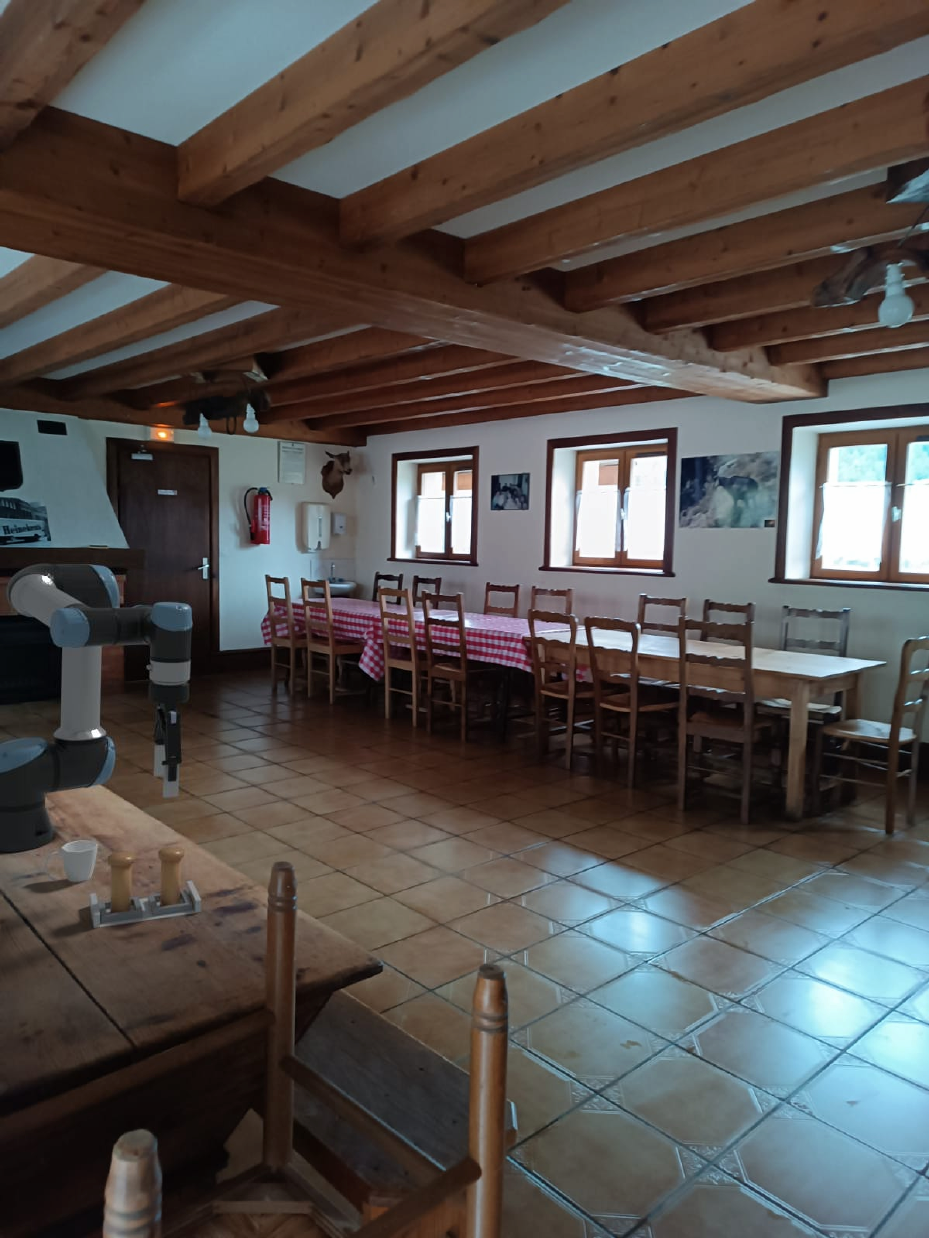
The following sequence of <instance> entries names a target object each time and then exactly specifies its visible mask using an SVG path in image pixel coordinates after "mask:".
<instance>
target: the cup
mask: <svg viewBox="0 0 929 1238" xmlns="http://www.w3.org/2000/svg"><path fill="white" fill-rule="evenodd" d="M98 849H99V844H98V843H96V842H95V841H93V840H86V839H85V840H83V839H82V840H81V839H80V840H75V841H69V842H66V843H65V844H63V846H61V847H60V851H59V850H58V851H53V852H52V853H50V855H48V857H47V858H46V861H45V864H44V872H45V875H46V877H48V879H50V880H52V881H53V882H57V881H58V879H57V878H56V877H54V876H52V875H51V874H50V873H48V870H47V866H48V862H49V860H50V859H52V857H53V856H62V857H61V858H62V863H63V868H64V872H65V873H64V874H65V875H66V879H67V881H69V882H70V883H81V882H86V881H88V880H90V879H91V878H92V875H93V872H94V869H95V864H96V858H97V853H98Z"/></svg>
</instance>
